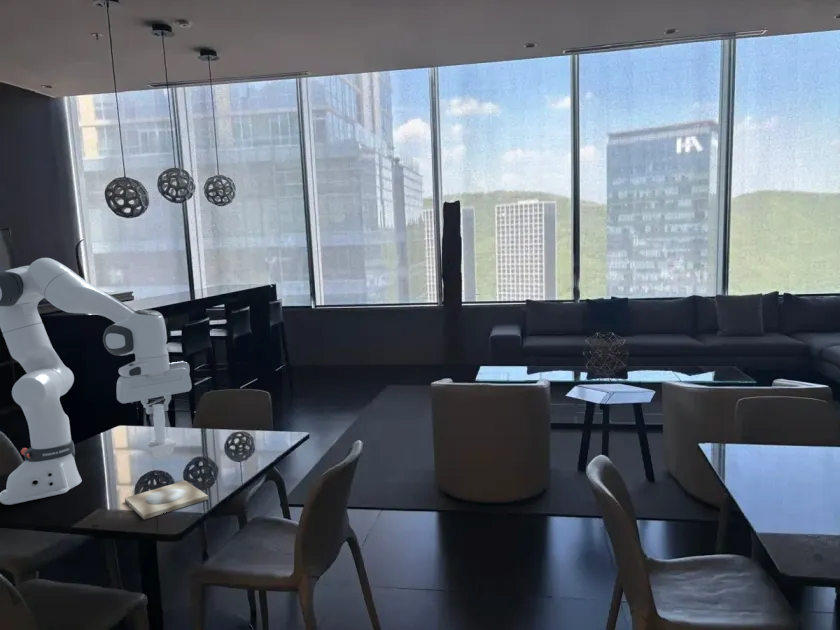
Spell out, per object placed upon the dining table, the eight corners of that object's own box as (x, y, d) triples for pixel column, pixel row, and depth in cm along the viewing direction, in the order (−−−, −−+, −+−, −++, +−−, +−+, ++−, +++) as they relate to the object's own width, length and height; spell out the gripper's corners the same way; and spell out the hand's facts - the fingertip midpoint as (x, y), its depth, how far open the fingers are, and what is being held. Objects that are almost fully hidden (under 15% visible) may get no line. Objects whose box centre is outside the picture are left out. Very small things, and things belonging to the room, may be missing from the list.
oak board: (144, 519, 163) (143, 514, 163) (125, 501, 177) (124, 497, 176) (208, 499, 175) (207, 494, 175) (185, 484, 188) (185, 479, 188)
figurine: (173, 448, 180) (168, 399, 179) (178, 456, 172) (173, 405, 170) (147, 453, 176) (142, 403, 175) (150, 461, 168) (145, 409, 167)
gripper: (184, 359, 181) (188, 403, 182) (112, 370, 168) (117, 417, 169) (192, 361, 176) (196, 406, 178) (118, 372, 163) (123, 421, 164)
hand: (157, 412), depth 173 cm, fingers closed on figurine, 3 cm apart
